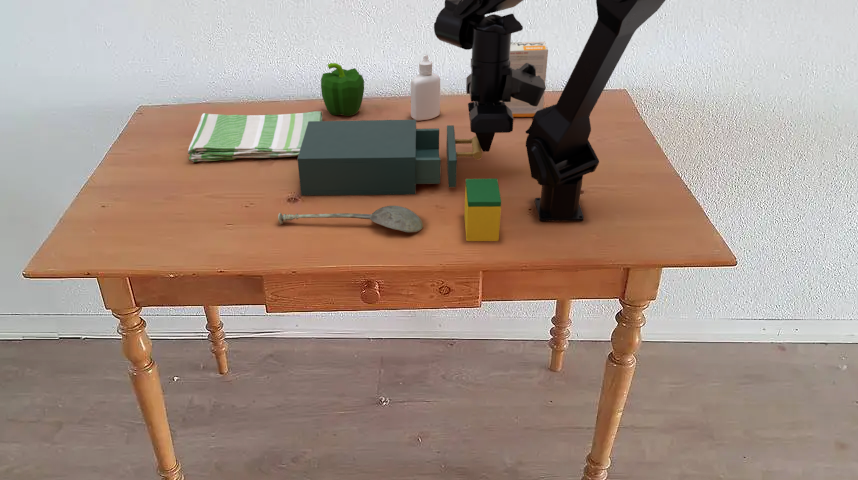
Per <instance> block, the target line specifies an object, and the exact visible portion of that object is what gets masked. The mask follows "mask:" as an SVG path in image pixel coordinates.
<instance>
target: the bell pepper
mask: <svg viewBox="0 0 858 480" xmlns="http://www.w3.org/2000/svg"><path fill="white" fill-rule="evenodd" d="M327 67H328V69H329V70H331V69H333V70H332V71H331V72H324V73H322V75H321V79H320V90H321V96H322V100H323V103H324V105H325V108H326V110H327V112H329V114H330V115H332V116H341V115H342V116H345V117H350V116H351V117H352V116H355V115H356V114H357V113H359V111H360V109H361V108H362V107H361V106H362V102H363V98H364V93H365V79H364V77H363V75H362V74H360V73H359V71H358V70H357V68H350V69H345V68H343V67H342V65H340V64H339V63H337V62H330V63H327Z"/></svg>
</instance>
